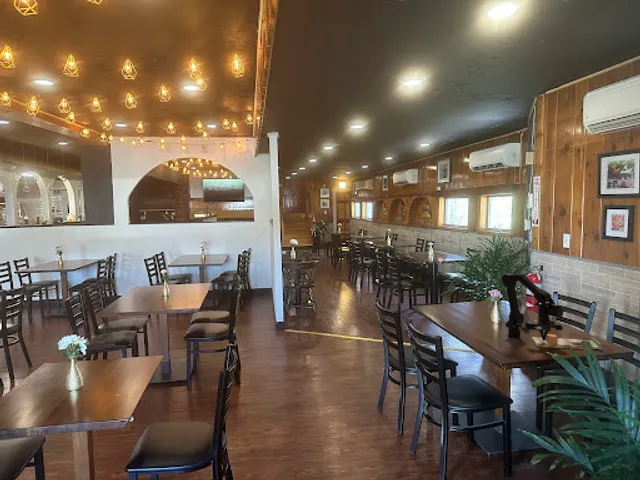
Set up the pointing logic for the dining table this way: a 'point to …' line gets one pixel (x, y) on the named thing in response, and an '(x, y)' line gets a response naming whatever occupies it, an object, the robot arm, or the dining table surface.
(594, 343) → the trap board
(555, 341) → the orange block
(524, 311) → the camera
